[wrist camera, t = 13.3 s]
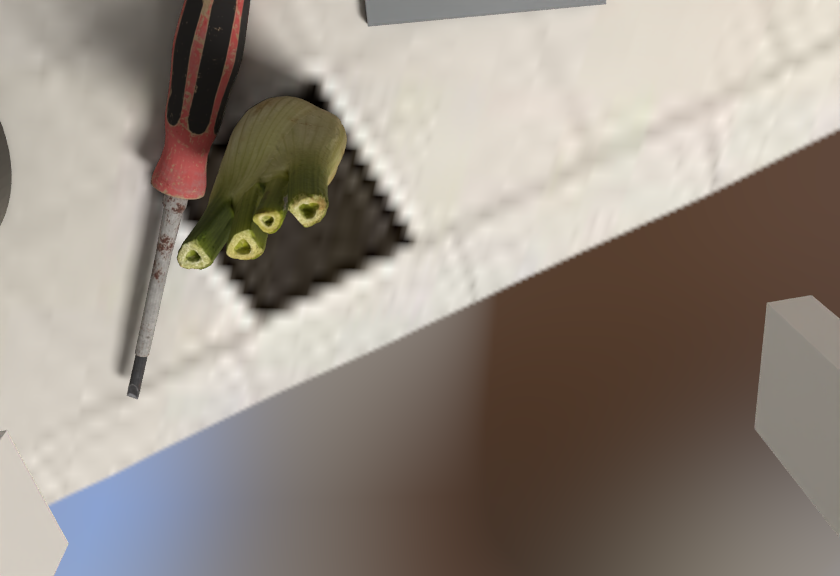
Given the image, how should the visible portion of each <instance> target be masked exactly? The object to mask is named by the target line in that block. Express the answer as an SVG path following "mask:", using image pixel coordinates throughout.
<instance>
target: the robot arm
mask: <svg viewBox="0 0 840 576" xmlns="http://www.w3.org/2000/svg"><path fill="white" fill-rule="evenodd" d="M10 192H11V161H10V155H9V149H8V145H7V141H6V137H5V134H4V131H3V127H2V125H1V122H0V225H1V223H2V221H3V219H4V216H5V213H6V210H7V207H8V203H9V198H10ZM755 430H756V431H757V432H758V433H759V435H760V436H761V437H762V439H763V440H764V441H765V443H766V444H767V445H768V446H769V448H770V449H771V450H772V452H773V453H774V454H775V455H776V456H777V458H778V459H779V461H780V462H781V463H782V464H783V466H784V467H785V468H786V470H787V471H788V472H789V473H790V475H791V476H792V477H793V479H794V480H795V481H796V483H797V484H798V485H799V486H800V487H801V489H802V490H803V491H804V493H805V494H806V495H807V497H808V498H809V499H810V500H811V502H812V503H813V504H814V506H815V507H816V508H817V510H818V511H819V512H820V513H821V515H822V516H823V517H824V519H825V520H826V521H827V522H828V524H829V525H830V526H831V528H832V529H833V530H834V531H835V533H836V534H837V535H838V537H839V538H840V319H839V318H838V317H837V316H836V315H834V314H833V313H832V312H831V311H830V310H828V309H827V308H826V307H825V306H824V305H822V304H821V303H820V302H819V301H818V300H816V299H815V298H814V297H813V296H812V295H811V296H804V297H799V298H793V299H787V300H781V301H775V302H769V303H767V309H766V319H765V329H764V339H763V349H762V359H761V369H760V378H759V388H758V398H757V408H756V418H755ZM67 546H68V542H67V540H66V538H65V536H64V534H63V532H62V531H61V529H60V527H59V525H58V523H57V521H56V520H55V518H54V516H53V514H52V512H51V510H50V508H49V507H48V505H47V503H46V501H45V499H44V497H43V496H42V494H41V492H40V490H39V488H38V486H37V485H36V483H35V481H34V479H33V477H32V475H31V474H30V472H29V470H28V468H27V466H26V464H25V463H24V461H23V459H22V457H21V455H20V453H19V452H18V450H17V448H16V446H15V444H14V442H13V441H12V439H11V437H10V435H9V433H8V431H7V430H6V431H0V576H54V574H55V572H56V570H57V567H58V565H59V563H60V561H61V559H62V557H63V554H64V552H65V550H66V548H67Z"/></svg>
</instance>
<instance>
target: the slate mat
mask: <svg viewBox="0 0 840 576" xmlns="http://www.w3.org/2000/svg"><path fill="white" fill-rule="evenodd" d="M365 4H366V13H367V22H368V26H378V25H389V24H399V23H410V22H421V21H431V20H442V19H452V18H463V17H474V16H484V15H495V14H506V13H516V12H527V11H537V10H548V9H559V8H569V7H580V6H591V5H601V4H606V0H365Z"/></svg>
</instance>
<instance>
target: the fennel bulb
mask: <svg viewBox="0 0 840 576" xmlns="http://www.w3.org/2000/svg"><path fill="white" fill-rule="evenodd" d="M346 142H347V137H346V132H345V129H344V127H343V125H342V124H341V121H340V120H339V118H338V117H336V116H335V115H333V114H332V113H330V112H328V111H326V110H324V109H321V108H319V107H316V106H315V105H313V104H311V103H309V102H307V101H305V100H303V99H300V98H297V97H291V96H281V97H274V98H268V99H266V100H264V101H262V102H260V103H258V104H256V105H255V106H253V107H252V108H250V109H249V110H248V111H247V112H246V113H245V114H244V115H243V117H242V118H241V119H240V120H239V122H238V123H237V125H236V126H235V128H234V130H233V132H232V134H231V136H230V139H229V143H228V145H227V149H226V151H225V154H224V157H223V159H222V162H221V166H220V169H219V171H218V175H217V178H216V180H215V184H214V186H213V190H212V192H211V195H210V198H209V203H208V206H207V208H206V210H205V212H204V214H203V216H202V217H201V219H200V220H199V222H198V223H197V225H196V226H195V227H194V229H193V230H192V231H191V233H190V234H189V235H188V237H187V238H186V239H185V241H184V242H183V244H182V246H181V248H180V249H179V251H178V256H177V260H178V263H179V265H180V266H181V267H183V268H186V269H191V268H194V269H200V270H201V269H204V268H207V267H208V266H210V265H211V264H212V263H213V261H214V259H215V258H216V257H217V255H218V254H219V252H220V251H221V249H222V248H223V246H224V244H225V243H226V242H227V240H228V242H227V247H226V253H227V255H228V256H229V257H231V258H235V259H241V260H242V259H244V260H247V259H248V260H249V259H256V258H257V257H259V256H260V255H262V254H263V252H264V250H265V245H266V240H267V237H268V234H267V233H269V234H272V233H275V232H276V231H277V230H278V229H279V228H280V226H281V225H282V223H283V220H284V219H285V216H286V214H287V211H288V210H289V211H290V212H291V213H292V214H293V215H294V216H295V217H296V219H297V220H298V221H299V222H300V223H301V224H302V225H303V226H304V227H310V226H312V225H314V224H315V223H318V222H320V221H321V219H322V218H323V217H324V216H325V214H326V211H327V208H328V205H329V202H328V193H327V187H328V185H329V184H330V182H331V181H332V179H333V178H334V176H335V174H336V171H337V168H338V165H339V163H340V161H341V159H342V156H343V154H344V150H345V147H346Z"/></svg>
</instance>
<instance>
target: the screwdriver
mask: <svg viewBox="0 0 840 576" xmlns="http://www.w3.org/2000/svg"><path fill="white" fill-rule="evenodd" d="M249 6H250V0H185V1H184V4H183V8H182V11H181V14H180V17H179V21H178V24H177V28H176V32H175V36H174V40H173V48H172V59H171V73H170V84H169V91H168V98H167V103H166V111H165V132H166V135H165V146H164V149H163V151H162V154H161V157H160V159H159V161H158V163H157V166H156V168H155V170H154V172H153V175H152V180H151V184H152V186H153V187H154V188H155V189H157V190H158V191H160V192H162V193H164V198H163V206H164V208H163V214H162V220H161V226H160V232H159V238H158V243H157V249H156V255H155V260H154V264H153V269H152V274H151V279H150V283H149V288H148V293H147V298H146V302H145V307H144V312H143V317H142V321H141V326H140V331H139V336H138V340H137V345H136V350H135V354H136V355H135V360H134V365H133V369H132V374H131V379H130V383H129V387H128V393H127V396H129V397H132V398H135V399H138V397H139V392H140V388H141V383H142V379H143V374H144V370H145V365H146V361H147V356H148V355H149V352H150V348H151V344H152V339H153V335H154V330H155V326H156V321H157V317H158V312H159V308H160V304H161V299H162V295H163V290H164V286H165V281H166V277H167V273H168V268H169V264H170V259H171V255H172V251H173V248H174V244H175V240H176V236H177V233H178V229H179V225H180V221H181V217H182V214H183V211H184V210H185V209H186V206H187V201H188V199H199V198H201V197H203V196H204V194H205V189H206V166H207V156H208V153H209V150H210V148H211V145H212V143H213V142H214V140H215V138H216V136H217V133H218V131H219V128H220V125H221V122H222V118H223V114H224V111H225V107H226V104H227V100H228V97H229V94H230V92H231V89H232V86H233V83H234V81H235V78H236V75H237V73H238V70H239V67H240V64H241V60H242V55H243V50H244V44H245V37H246V30H247V23H248V15H249Z"/></svg>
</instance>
